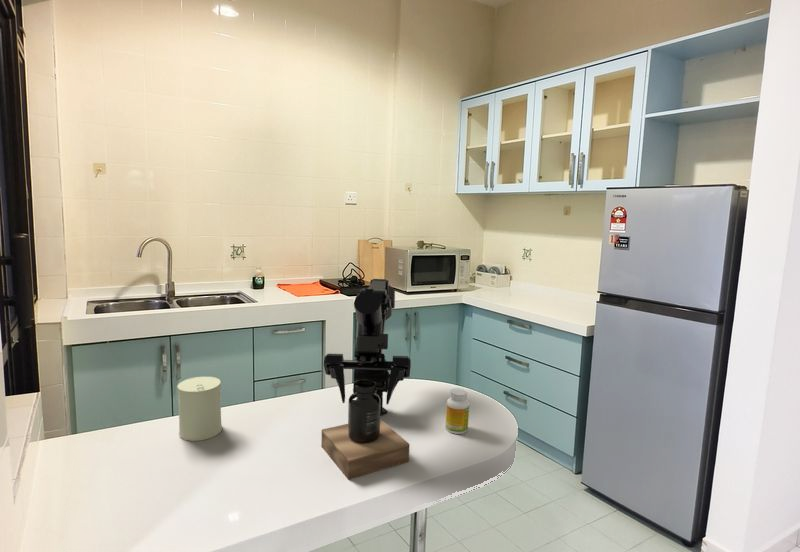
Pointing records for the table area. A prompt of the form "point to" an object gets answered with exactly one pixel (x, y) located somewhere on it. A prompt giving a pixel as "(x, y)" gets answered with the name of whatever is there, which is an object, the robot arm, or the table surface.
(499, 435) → the table surface
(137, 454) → the table surface
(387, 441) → the block
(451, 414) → the supplement bottle
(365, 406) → the supplement bottle
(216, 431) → the can
